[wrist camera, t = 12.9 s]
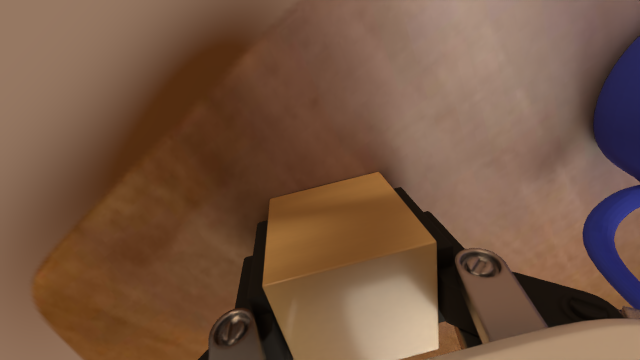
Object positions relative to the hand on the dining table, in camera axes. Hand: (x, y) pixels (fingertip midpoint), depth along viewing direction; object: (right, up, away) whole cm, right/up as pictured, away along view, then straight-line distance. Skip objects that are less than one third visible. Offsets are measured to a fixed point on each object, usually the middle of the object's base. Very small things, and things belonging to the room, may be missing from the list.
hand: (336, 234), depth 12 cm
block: (0, 0, 0) cm, 0 cm away
